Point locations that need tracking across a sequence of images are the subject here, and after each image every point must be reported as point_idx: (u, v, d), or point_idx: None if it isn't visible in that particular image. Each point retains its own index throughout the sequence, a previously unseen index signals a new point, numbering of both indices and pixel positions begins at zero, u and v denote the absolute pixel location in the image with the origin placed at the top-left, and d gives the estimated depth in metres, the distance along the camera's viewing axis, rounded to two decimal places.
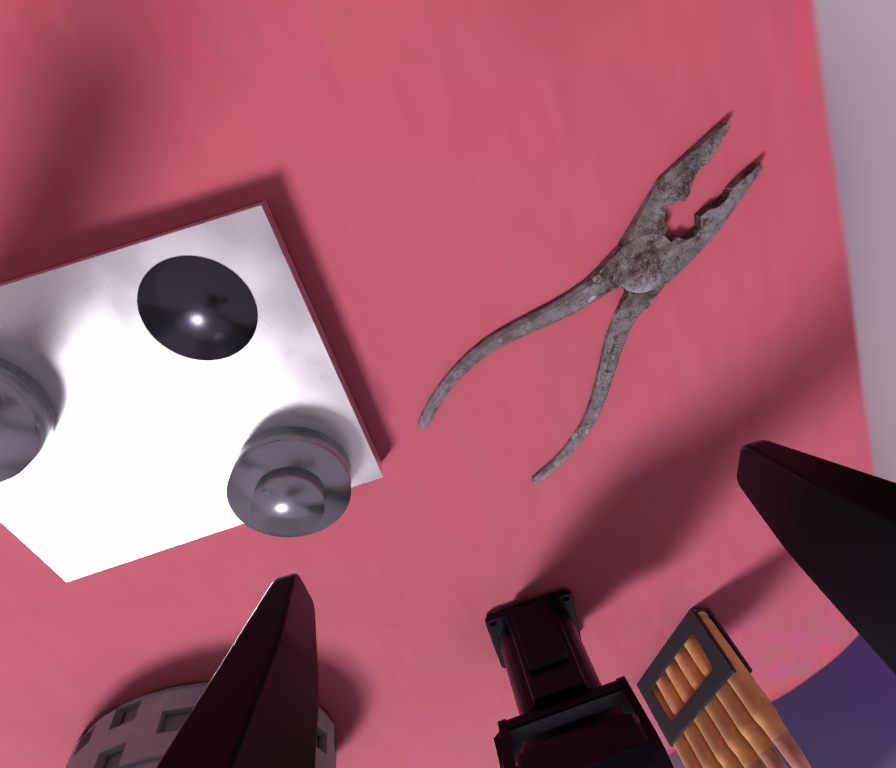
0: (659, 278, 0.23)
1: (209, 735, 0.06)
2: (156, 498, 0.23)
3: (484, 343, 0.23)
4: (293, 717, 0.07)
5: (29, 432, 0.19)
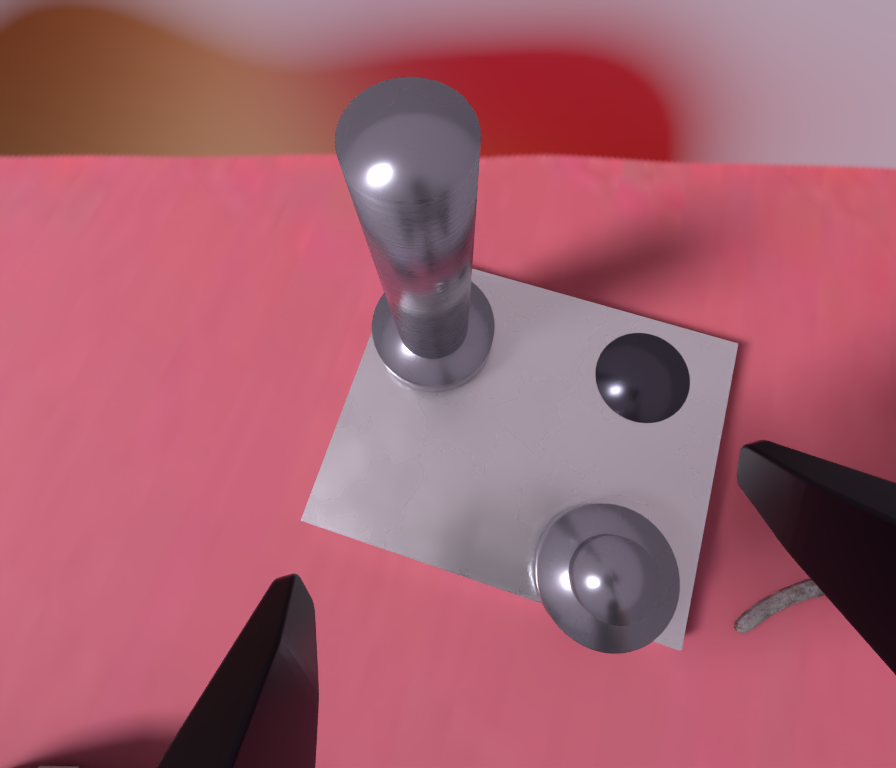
0: None
1: (209, 735, 0.06)
2: (463, 498, 0.21)
3: None
4: (293, 717, 0.07)
5: (475, 362, 0.21)
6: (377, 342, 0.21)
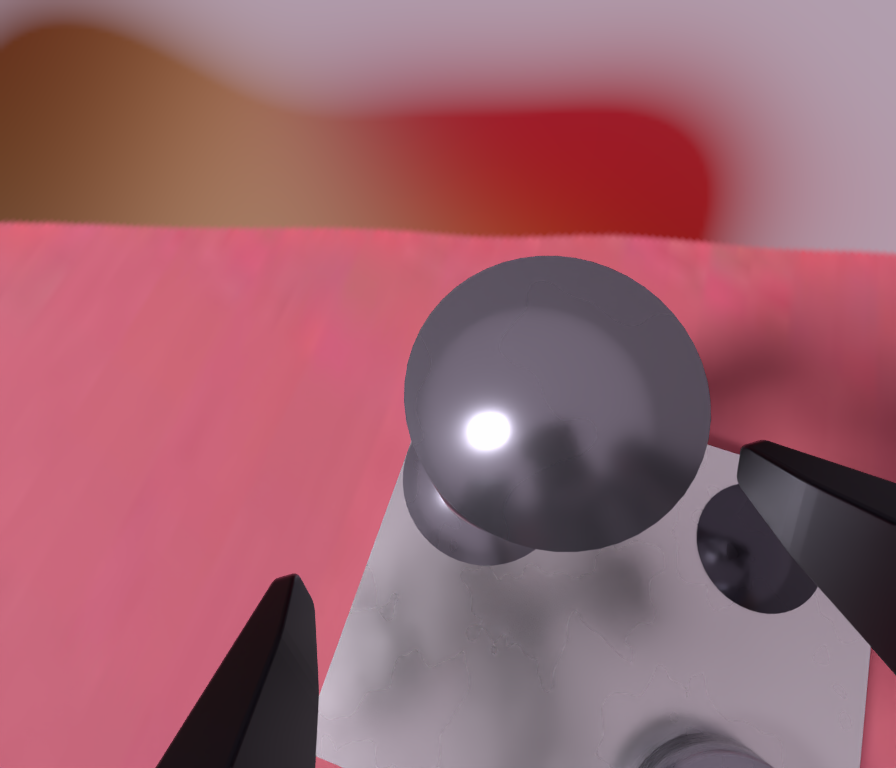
0: None
1: (209, 735, 0.06)
2: (523, 720, 0.15)
3: None
4: (293, 717, 0.07)
5: None
6: (410, 500, 0.16)
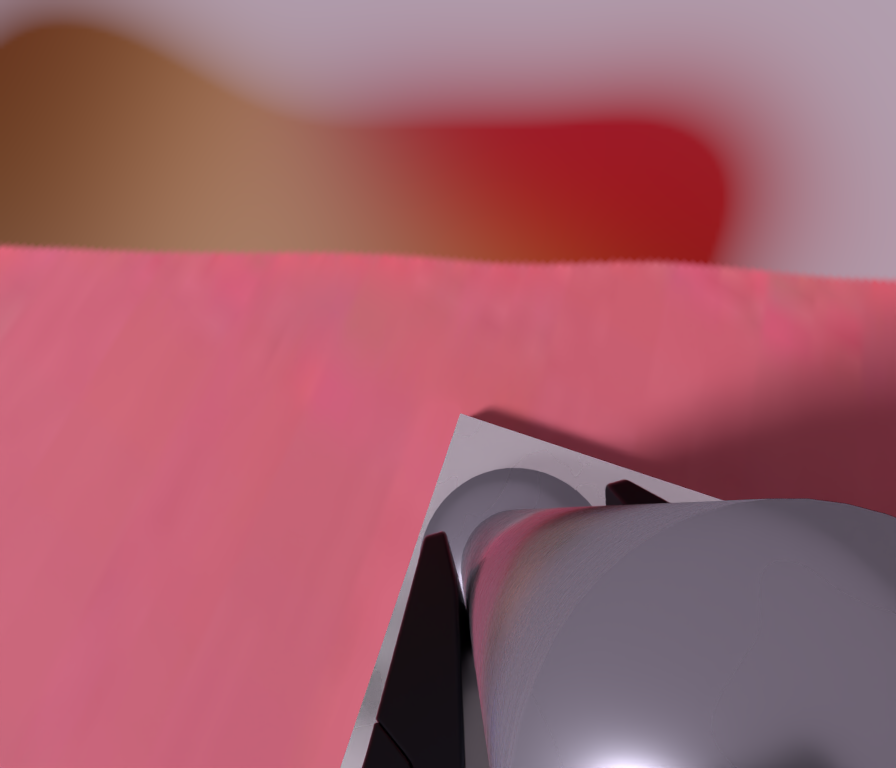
0: None
1: (426, 669, 0.06)
2: None
3: None
4: (472, 662, 0.07)
5: None
6: None
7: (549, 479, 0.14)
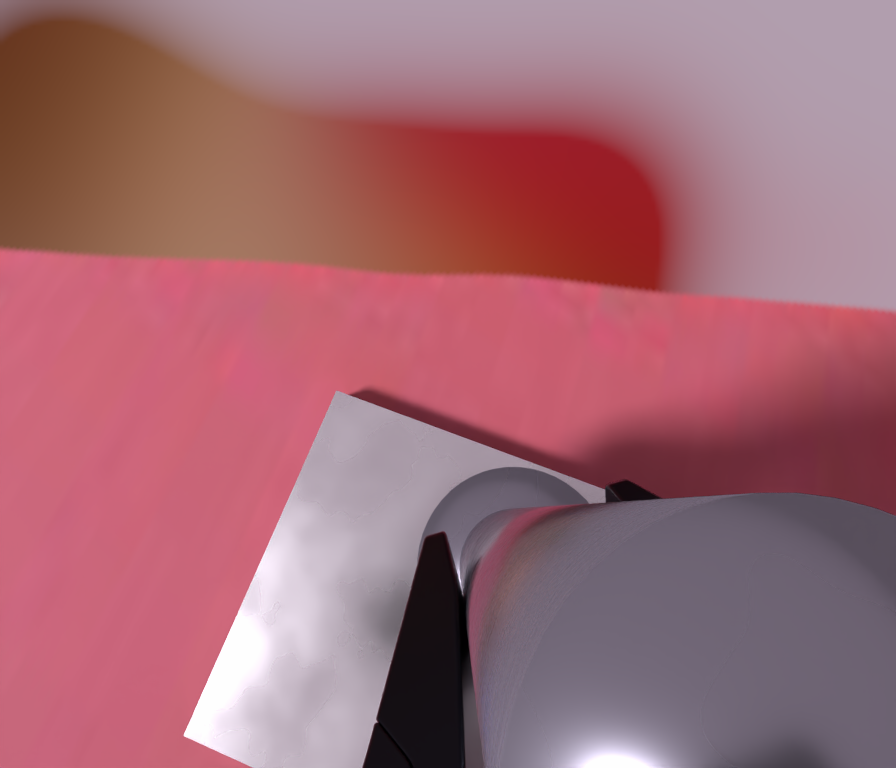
0: None
1: (426, 669, 0.06)
2: None
3: None
4: None
5: None
6: None
7: (548, 478, 0.14)
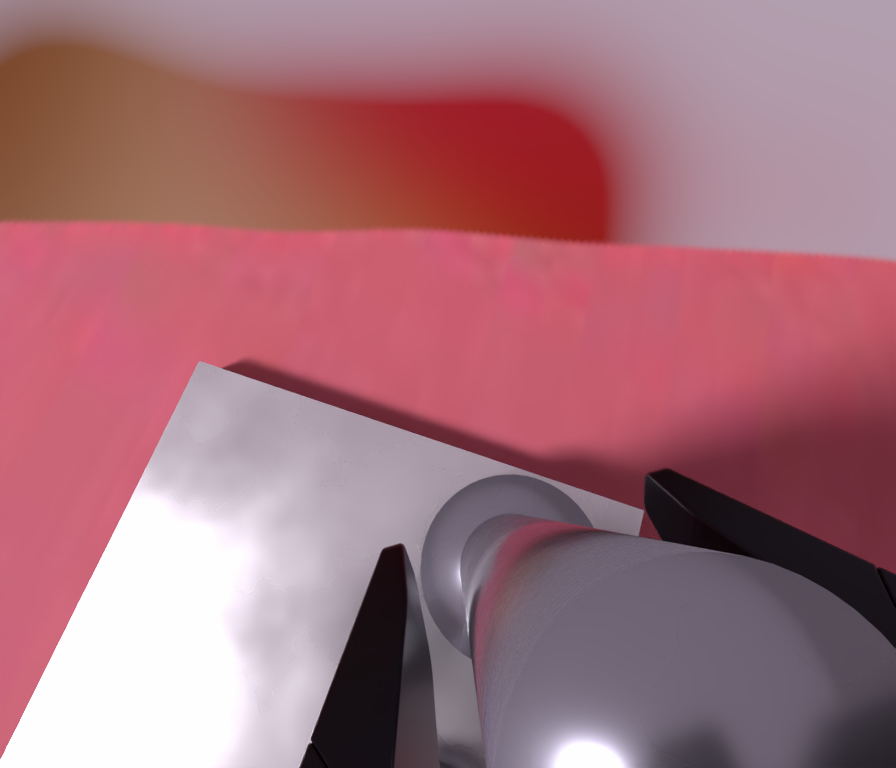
0: None
1: (365, 688, 0.06)
2: (233, 745, 0.15)
3: None
4: (421, 678, 0.07)
5: None
6: (429, 595, 0.14)
7: (542, 485, 0.15)
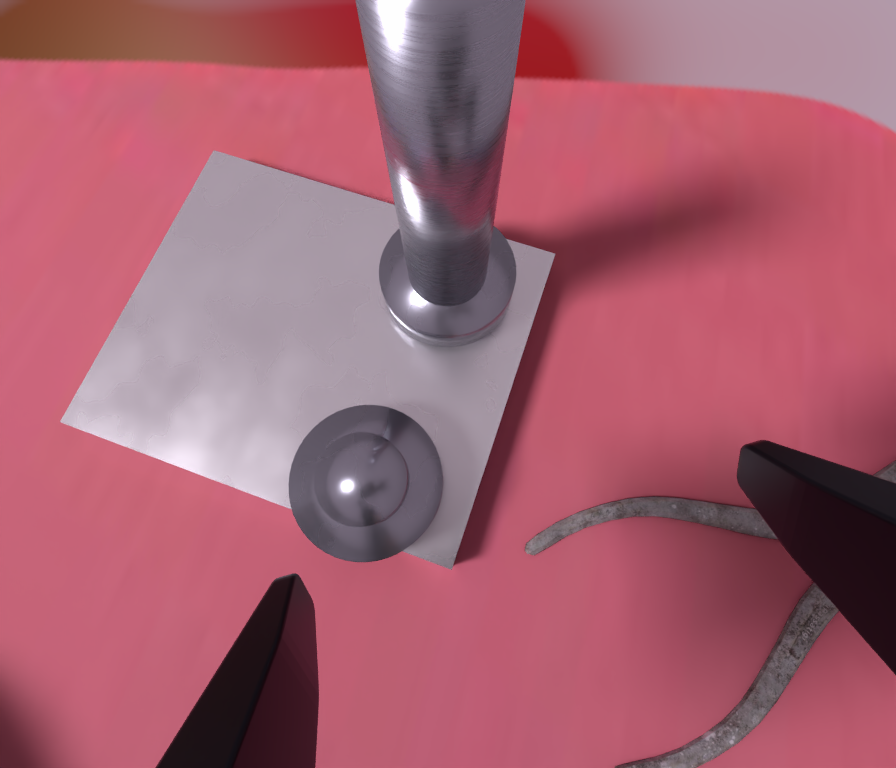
0: None
1: (209, 735, 0.06)
2: (238, 403, 0.19)
3: (654, 498, 0.19)
4: (293, 717, 0.07)
5: (493, 311, 0.19)
6: (384, 286, 0.19)
7: None
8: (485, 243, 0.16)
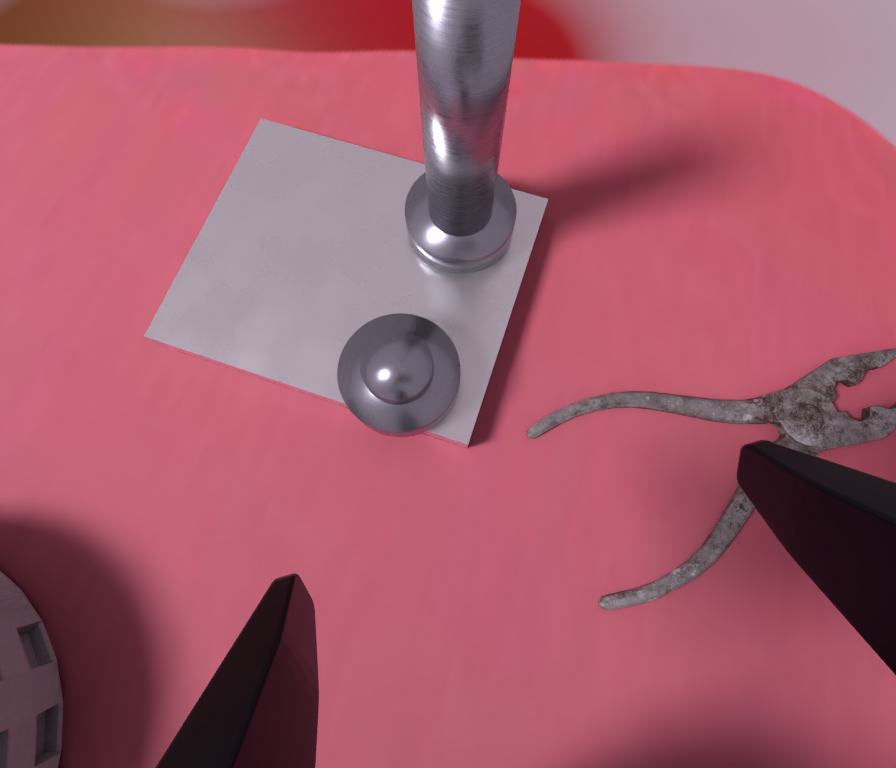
0: (820, 439, 0.23)
1: (209, 735, 0.06)
2: (290, 320, 0.24)
3: (632, 392, 0.24)
4: (293, 717, 0.07)
5: (498, 240, 0.23)
6: (409, 222, 0.23)
7: None
8: (493, 175, 0.20)
